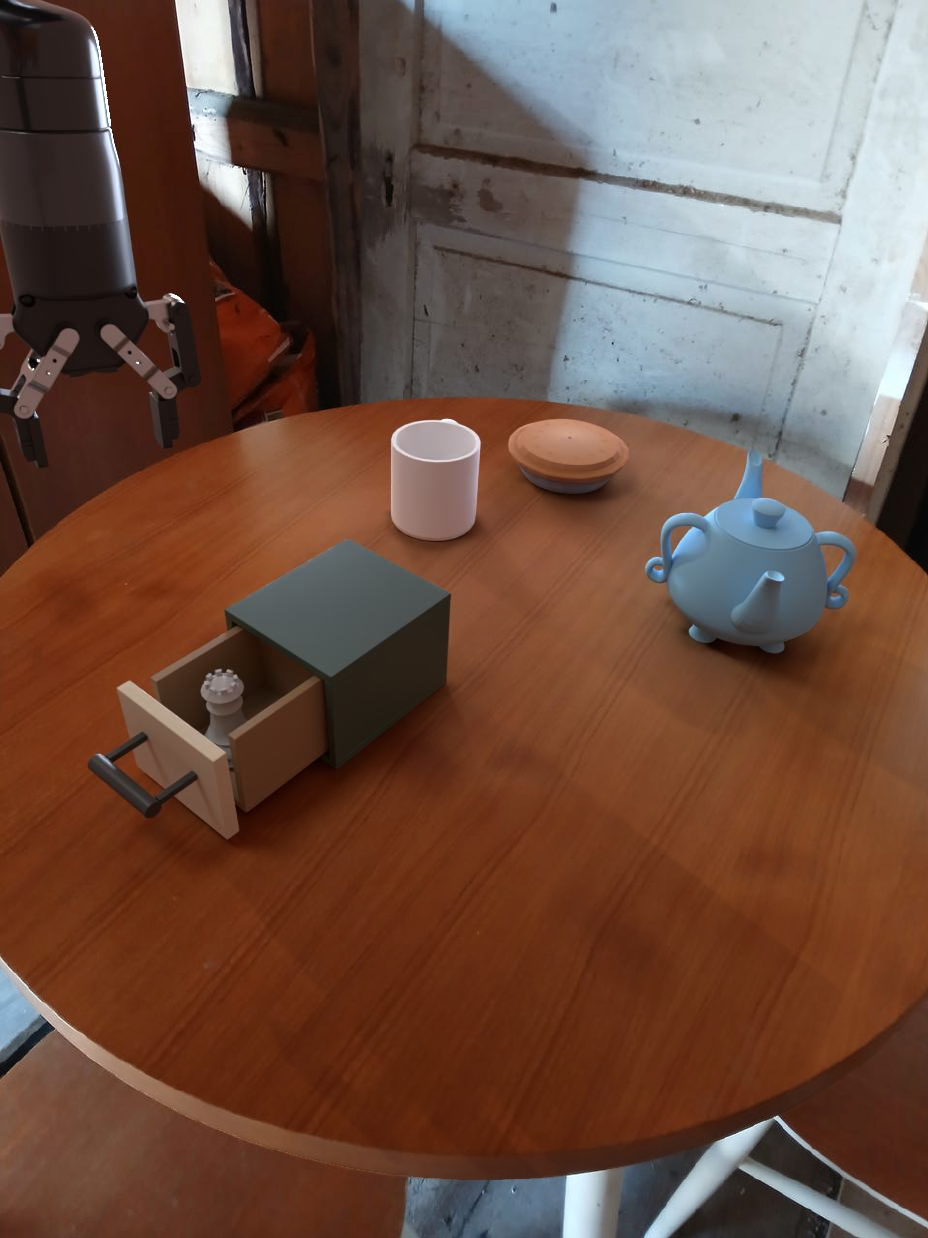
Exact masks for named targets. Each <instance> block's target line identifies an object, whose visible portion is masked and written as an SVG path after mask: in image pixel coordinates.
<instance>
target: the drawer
mask: <svg viewBox="0 0 928 1238" xmlns="http://www.w3.org/2000/svg"><path fill="white" fill-rule="evenodd" d="M218 669H221V670H222V673H226V671H227V669H229V670H232V671H233V674H234V675H236V674H237V677H238V678H239V679H240V680H241V681H242V682H243V685H244V689H243V692H242V694H241V696H242V699H243V703H242V706H241V709H242V712H243V715H244V718H245V719H246V720H247V722H246V723H244V724H243V725H242V726H240V727H239V728H237V729H236V730H234V731H233V732H231V733H230V734H229V735H228V737H229V743H230V749H231V755H232V761H233V767H234V768H229V766H228V760H227V754H226V752H224V751H223V750H222V749H220V748H219V747H218V746H216V745H215V744H214V743H212V742H211V741H210V740H208V739H207V738H206V737H205V734H206V731H207V730H208V728H209V725H210V711H209V710H208V709H207V706H206V703H207V701H206V700H205V699H204V698H203V697H202V695H201V688H202V685H203V684H204V681H206V676H207V675H208V674H209V673H210V674H212V676H214V675H216V673H215V670H218ZM149 679H150V684H151V688H152V692H153V697H152V696H151V695H150V694H149V693H147V692H146V691H144V690H143V689H142V688H141V687H139V686H138V685H136V684H135V683H134V682H132V680H128V681H126V682H124V683H122V684H121V685H119V686H117V687H116V692H117V695H118V699H119V703H120V707H121V711H122V714H123V718H124V722H125V726H126V729H127V730H126V731H127V734H128V738H129V739H128V740H126V741H125V742H123V743H122V744H120V745H119V746H117V747H115V748H114V749H112V750H111V751H109V752H108V753H106V754H103V753H96V754H94V755H92V756H91V757H90V759H89V760H88V762H87V769H88V770H89V771H90V772H92V773H93V774H94V775H95V776H96V777H97V778H98V779H100V780H101V781H102V782H104V783H105V784H106V785H107V786H108V787H109V788H110V789H112V790H113V791H114V792H115V793H116V794H117V795H119V796H120V797H121V798H122V799H123V800H124V801H126V802H127V803H128V804H129V805H130V806H131V807H133V808H134V809H135V810H136V811H137V812H139V813H140V814H141V815H142V816H143V817H145V818H146V819H148V820H149V819H153V818H155V817H156V816H158V815H159V813H160V812H161V810H162V808H163V805H164V804H165V803H166V802H168V801H169V800H171V799H172V798H175V799H177V800H178V801H179V802H180V803H181V804H183V805H184V806H185V807H186V808H187V809H189V810H190V811H191V812H193V813H194V815H196V816H197V817H199V818H200V819H201V820H203V822H205V823H206V824H207V825H209V827H211V828H212V829H213V830H214V831H216V832H217V833H218V834H219V835H221V837H223V838H225V839H226V840H227V841H228V840H229V839H231V838H232V837H233V836H234V835H236V834H237V833H238V832H240V827H239V821H238V814H237V810H236V809H237V807H238V808H239V809H241V810H242V811H243V812H245V814H247V813H248V812H249V811H251V810H252V809H254V808H255V807H256V806H257V805H259V804H260V803H261V802H263V801H264V800H265V799H267V798H268V797H269V796H270V795H272V794H273V793H274V792H276V791H277V790H279V788H281V787H282V786H283V785H285V784H286V783H287V782H289V781H290V780H292V779H293V778H294V777H295V776H296V775H298V774H299V773H300V772H302V771H303V770H304V769H306V768H307V767H308V766H309V765H311V764H312V763H314V762H315V761H317V759H319V757H320V756H321V755H322V754H324V753H325V752H326V751H327V750H329V741H328V725H327V709H326V694H325V680H323V679H322V678H320V677H318V676H317V675H315V674H314V673H312V672H311V671H309V670H308V669H306V668H304V667H303V666H301V665H300V664H298V663H297V662H295V661H294V660H292V659H290V658H289V657H287V656H286V655H284V654H283V653H281V652H280V651H278V650H276V649H275V648H273V647H272V646H270V645H269V644H267V643H266V642H264V641H262V640H261V639H259V638H258V637H256V636H255V635H253V634H252V633H250V632H248V631H247V630H245V629H244V628H242V627H241V626H239V625H237V626H236V627H234V628H232V629H231V630H229V631H227V630H226V632H224V633H222V634H220V635H218V636H217V637H216V638H214V639H212V640H210V641H209V642H207V643H205V644H204V645H201V647H199V648H197V649H195V650H194V651H192V652H190V653H188V654H187V655H185V656H183V657H182V658H180V659H178V660H177V661H175V662H173V663H171V664H170V665H169V666H166V667H165V668H163V669H162V670H160V671H158V672H157V673H155V674H154V675H152V676H150V677H149ZM130 752H132V753H133V756H134V761H135V765H136V767H137V768H138V769H140V770H141V771H143V773H145V774H146V775H147V776H148V777H150V778H151V779H152V780H153V781H155V782H156V783H157V784H158V785H160V786H161V787H162V788H163V790H161V791H160V792H158V793H157V794H156V795H152V794H151V793H150V792H149V791H148V790H146V788H144V787H143V786H141V785H140V783H138V782H137V781H135V779H133V778H132V777H131V776H130V775H129V774H127V773H126V772H125V771H124V770H122V769H121V768H120V767H118V766H117V764H115V762H116V761H118V760H120V759H121V758H122V757H124V756H125V755H127V754H129V753H130ZM236 806H237V807H236Z"/></svg>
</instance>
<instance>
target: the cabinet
mask: <svg viewBox="0 0 928 1238" xmlns="http://www.w3.org/2000/svg"><path fill="white" fill-rule="evenodd" d="M451 600H452V593H451V592H449V591H448V590H445V589H444V588H442V587H440V586H438V585H436V584H434V583H432V582H431V581H428V580H427V579H425V578H423V577H421V576H419V575H418V574H416V573H414V572H412V571H410V570H409V569H406V568H404V567H402V566H400V565H399V564H397V563H395V562H393V561H391V560H389V559H387V558H385V557H384V556H382V555H380V554H377V553H376V552H374V551H372V550H370V549H368V548H367V547H364V546H362V545H361V544H359V543H358V542H355V541H353V540H351V539H349V538H345V539H344V540H342V541H340V542H339V543H337V544H336V545H333V546H331V547H330V548H328V549H327V550H325V551H323V552H321V553H320V554H317V555H316V556H314V557H313V558H311V559H309V560H307V561H306V562H304V563H302V564H300V565H299V566H297V567H295V568H294V569H291V570H290V571H288V572H287V573H285V574H283V575H282V576H279V577H278V578H276V579H275V580H272V581H271V582H270V583H267V584H265V585H264V586H262V587H260V588H259V589H257V590H255V591H254V592H252V593H250V594H248V595H246V596H245V597H243V598H242V599H240V600H238V601H236V602H235V603H233V604H231V605H229V606H228V607H226V608H224V610H223V611H224V617H225V624H226V632H227V631H229V630H231V629H232V628H234V627H236V626H237V625H239V626H241V627H242V628H244V629H245V630H247V631H248V632H250V633H252V634H253V635H255V636H256V637H258V638H259V639H261V640H262V641H264V642H266V643H267V644H269V645H270V646H272V647H273V648H275V649H276V650H278V651H280V652H281V653H283V654H284V655H286V656H287V657H289V658H290V659H292V660H294V661H295V662H297V663H298V664H300V665H301V666H303V667H304V668H306V669H308V670H309V671H311V672H312V673H314V674H315V675H317V676H318V677H320V678H322V679H323V680H325V694H326V709H327V725H328V741H329V750H327V751H326V752H325V753H324V754H322V755H321V756H320V757H318V759H320V760H321V761H323V762H324V763H325V764H327V765H329V767H330V768H333V769H334V770H336V771H337V770H338V769H340V768H341V767H342V766H343V765H344V764H346V763H348V761H350V760H351V759H352V758H353V757H354V756H356V755H358V753H360V752H361V751H362V750H363V749H365V748H366V747H368V746H369V744H371V743H372V742H373V741H375V740H376V739H377V738H379V737H380V736H381V735H382V734H384V733H385V732H386V731H387V730H388V729H390V728H391V727H393V726H394V725H395V724H396V723H398V722H399V721H400V720H401V719H402V718H404V717H405V716H406V715H407V714H409V713H410V712H411V711H412V710H414V709H415V708H416V707H417V706H419V705H420V704H421V703H423V702H424V701H425V700H427V699H428V698H429V697H430V696H431V695H432V694H434V693H435V692H437V691H438V690H439V689H440V688H442V686H444V685H445V684H446V683H447V676H448V660H449V659H448V657H449V640H450V639H449V638H450V618H451V603H452V602H451Z"/></svg>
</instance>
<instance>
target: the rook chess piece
mask: <svg viewBox="0 0 928 1238" xmlns="http://www.w3.org/2000/svg"><path fill="white" fill-rule="evenodd" d="M215 673H216V675H214V676H212V674H210V673H209V674H208V675H207V676H206V681H204V684H203V685H202V688H201V695H202V697H203V698H204V699H205V700H206V701H207V703H206V706H207V709H208V710H209V711H210V725H209V728H208V730H207V731H206V734H205V737H206V738H207V739H208V740H210V741H211V742H212V743H214V744H215V745H216V746H218V747H219V748H220V749H222V750H223V751H224V752H226V754H227V760H228V766H229V768H234V767H233V761H232V755H231V749H230V743H229V737H228V735H229V734H230V733H231V732H233V731H234V730H236V729H237V728H239V727H240V726H242V725H243V724H244V723H246V722H247V720H246V719H245V718H244V715H243V712H242V709H241V706H242V703H243V699H242V696H241V694H242V692H243V689H244V685H243V682H242V681H241V680H240V679H239V678H238V677H237V674H236V675H234V674H233V671H232V670H229V669H227V671H226V673H222V670H221V669H218V670H215Z"/></svg>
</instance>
